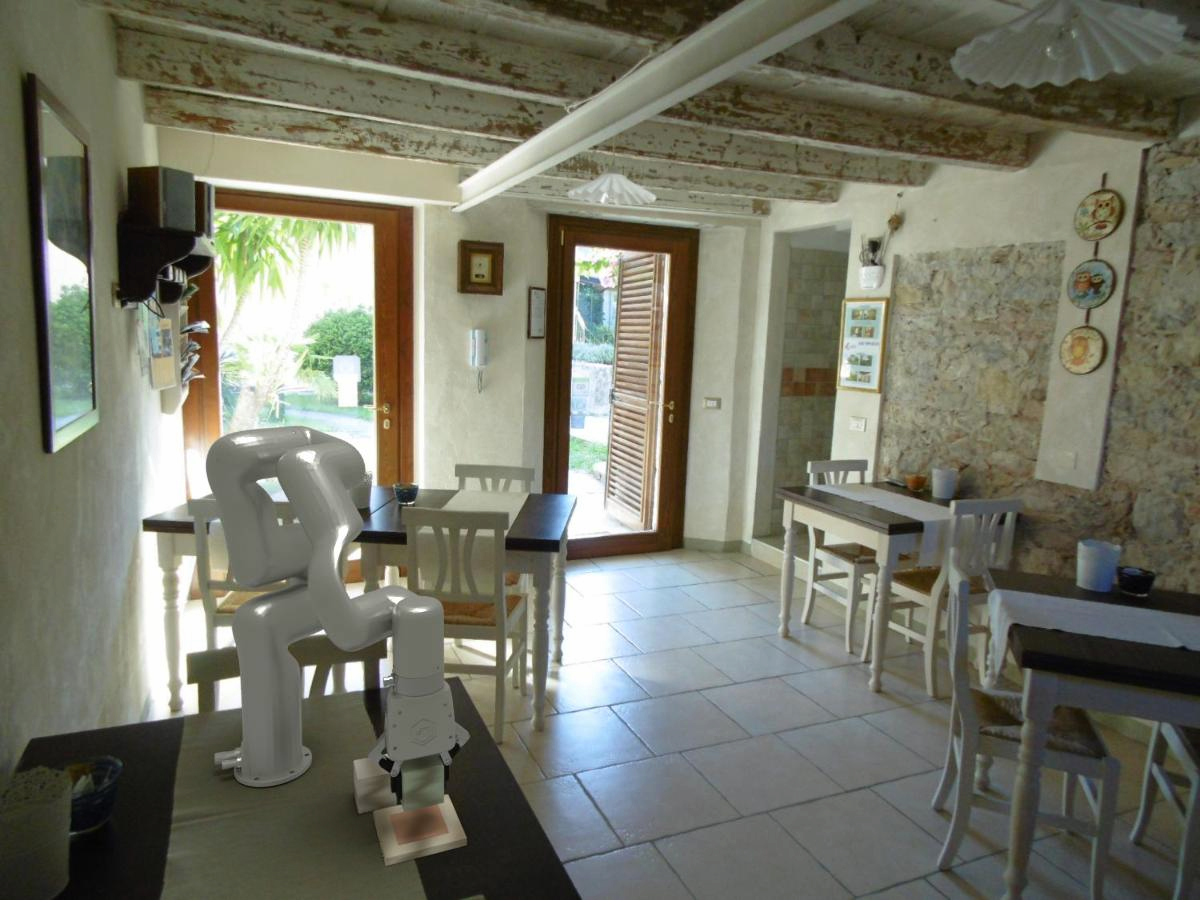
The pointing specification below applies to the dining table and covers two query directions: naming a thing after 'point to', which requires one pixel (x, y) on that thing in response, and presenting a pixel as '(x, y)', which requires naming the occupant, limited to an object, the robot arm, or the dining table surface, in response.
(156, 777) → the dining table surface
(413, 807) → the sage block
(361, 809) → the cream block
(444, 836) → the board
